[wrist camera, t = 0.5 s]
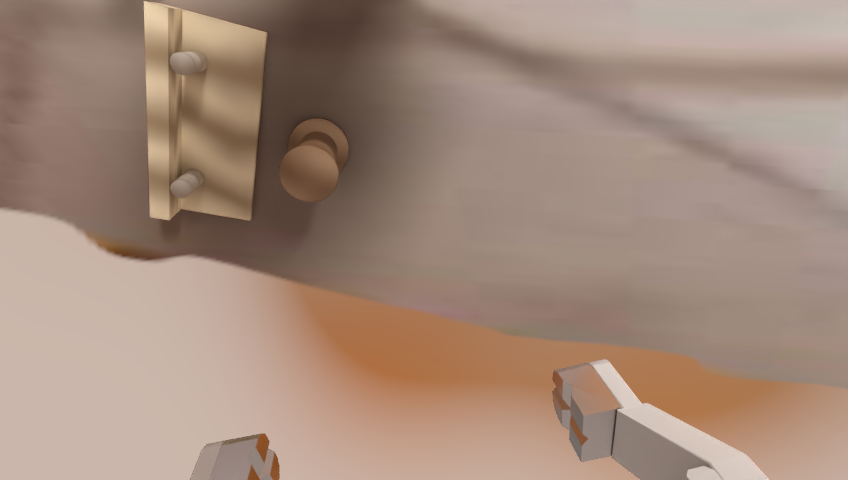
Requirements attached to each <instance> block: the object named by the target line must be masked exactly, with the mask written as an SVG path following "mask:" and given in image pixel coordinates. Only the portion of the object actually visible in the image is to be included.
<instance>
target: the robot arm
mask: <svg viewBox="0 0 848 480" xmlns="http://www.w3.org/2000/svg"><path fill="white" fill-rule="evenodd" d="M553 382H554V384H555V385H556V388H555V389H554V390H553V392H552V393H553V403H554V408H555V411H556V414H557V416H558V419H559V421H560V423H561V425H562V426H563V427H565V428H567V429H568V430H570V436H569V440H570V442H571V444H572V446H573V448H574V450H575V451H576V453H577V455H578V457H579V459H580V461H581V462H584V461H589V460H594V459H599V458H604V457H609V456H612V458H613V459H614V460H616V461H617V462H618V463H619V464H621V465H622V466H623V467H625V468H626V469H627V470H628V471H630V472H631V473H632V474H634V475H635V476H636V477H637V478H639V479H640V480H769V479H768V478H767V477H766V476H765V474H764V473H763V472H762V471H761V470H760V469H759V468H758V467H757V466H756V465H755V464H754V463H753V461H752V460H751V459H750V458H749V457H748V456H747V455H745V454H744V453H742V452H740V451H738V450H736V449H734V448H732V447H731V446H729V445H727V444H725V443H723V442H721V441H719V440H717V439H715V438H713V437H711V436H709V435H708V434H706V433H704V432H702V431H700V430H698V429H696V428H694V427H692V426H690V425H688V424H687V423H685V422H683V421H681V420H679V419H677V418H675V417H673V416H671V415H669V414H667V413H665V412H664V411H662V410H660V409H658V408H656V407H654V406H652V405H650V404H648V403H645V404H642V403H641V402H640V401H639V400H638V398H637V397H636V396H635V394H634V393H633V392H632V390H631V389H630V388H629V387H628V385H627V384H626V383H625V382H624V380H623V379H622V378H621V376H620V375H619V374H618V372H617V371H616V370H615V369H614V367H613V366H612V365H611V363H610V362H609V361H607V360H606V359H604V360H599V361H594V362H590V363H584V364H580V365H575V366H571V367H567V368H562V369H558V370H554V372H553ZM268 446H269V440H268V438H267V436H266V434H257V435H252V436H247V437H242V438H236V439H231V440H226V441H221V442H216V443H211V444H207V445H206V446H205V447H204V448H203V449H202V451H201V453H200V456H199V458H198V461H197V463H196V466H195V468H194V471H193V473H192V476H191V478H190V480H279V463H278V458H277V456H276V454H275V452H274V451H272V450H270V449H268Z"/></svg>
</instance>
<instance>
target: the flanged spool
mask: <svg viewBox="0 0 848 480" xmlns="http://www.w3.org/2000/svg"><path fill="white" fill-rule="evenodd" d="M348 152H349V146H348V141H347V138H346V136H345V134H344V132H343V131H342V130H341V129H340V128H339V127H338V126H337V125H336V124H334V123H333V122H331V121H329V120H326V119H322V118H312V119H308V120H305V121H303V122H301V123H300V124H299V125H297V127H296V128H295V129H294V130H293V132H292V133H291V135H290V137H289V141H288V152H287V153H286V155H285V156H284V158H283V159H282V161H281V164H280V167H279V177H280V181H281V183H282V185H283V187H284V188H285V190H286V191H287V192H288V193H289V194H290V195H292V196H293V197H295V198H297V199H299V200H302V201H306V202H316V201H320V200H323V199H325V198H327V197H328V196H329V195H330V194H331V193H332V192H333V191H334V190H335V188H336V186H337V182H338V176H339V172H340V171H341V170H342V168H343V167H344V166H345V164H346V162H347V159H348Z"/></svg>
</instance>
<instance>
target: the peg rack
mask: <svg viewBox="0 0 848 480" xmlns="http://www.w3.org/2000/svg"><path fill="white" fill-rule="evenodd" d="M144 25H145V60H146V94H147V129H148V164H149V199H150V217H152V218H158V219H164V220H170V219H171V218H172V217H173V216H174V215H176V214H177V213H178V212H179V211H180V210H181V209H184V210H190V211H195V212H201V213H207V214H213V215H219V216H225V217H231V218H237V219H243V220H249V221H250V220H251V218H252V206H253V194H254V183H255V171H256V159H257V148H258V136H259V124H260V113H261V101H262V90H263V78H264V66H265V55H266V43H267V32H263V31H260V30H256V29H252V28H249V27H245V26H242V25H238V24H234V23H231V22H227V21H223V20H220V19H216V18H212V17H209V16H205V15H201V14H198V13H194V12H190V11H187V10H183V9H179V8H176V7H172V6H168V5H165V4H160V3H153V2H147V1H144Z"/></svg>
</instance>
